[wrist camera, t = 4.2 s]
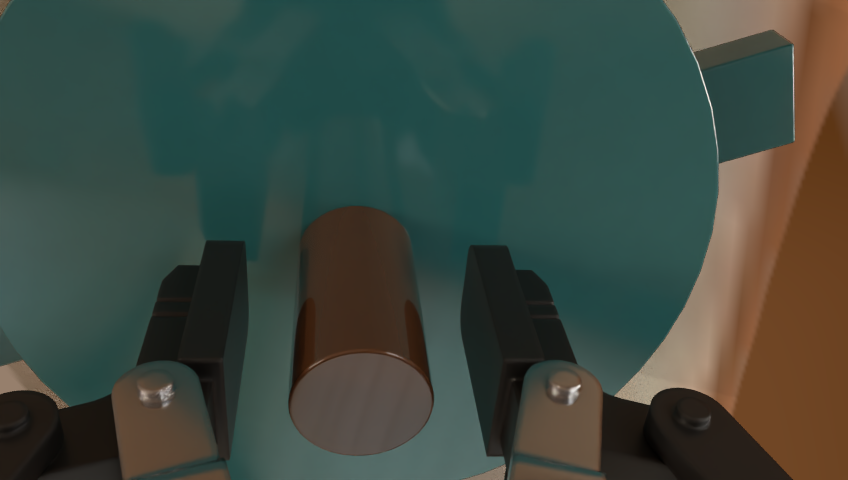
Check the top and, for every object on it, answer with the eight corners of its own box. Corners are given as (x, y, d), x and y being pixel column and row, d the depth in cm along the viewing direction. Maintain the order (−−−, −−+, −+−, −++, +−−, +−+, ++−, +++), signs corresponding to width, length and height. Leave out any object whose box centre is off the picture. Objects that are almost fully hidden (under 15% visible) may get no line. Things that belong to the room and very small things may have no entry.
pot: (-107, -48, 21) (-317, 61, 14) (647, -292, 19) (813, -300, 13) (147, 355, 29) (91, 547, 22) (694, 202, 27) (811, 357, 21)
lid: (-204, -12, 14) (-479, 123, 9) (661, -292, 13) (850, -301, 8) (177, 520, 23) (135, 733, 18) (719, 377, 22) (828, 563, 17)
